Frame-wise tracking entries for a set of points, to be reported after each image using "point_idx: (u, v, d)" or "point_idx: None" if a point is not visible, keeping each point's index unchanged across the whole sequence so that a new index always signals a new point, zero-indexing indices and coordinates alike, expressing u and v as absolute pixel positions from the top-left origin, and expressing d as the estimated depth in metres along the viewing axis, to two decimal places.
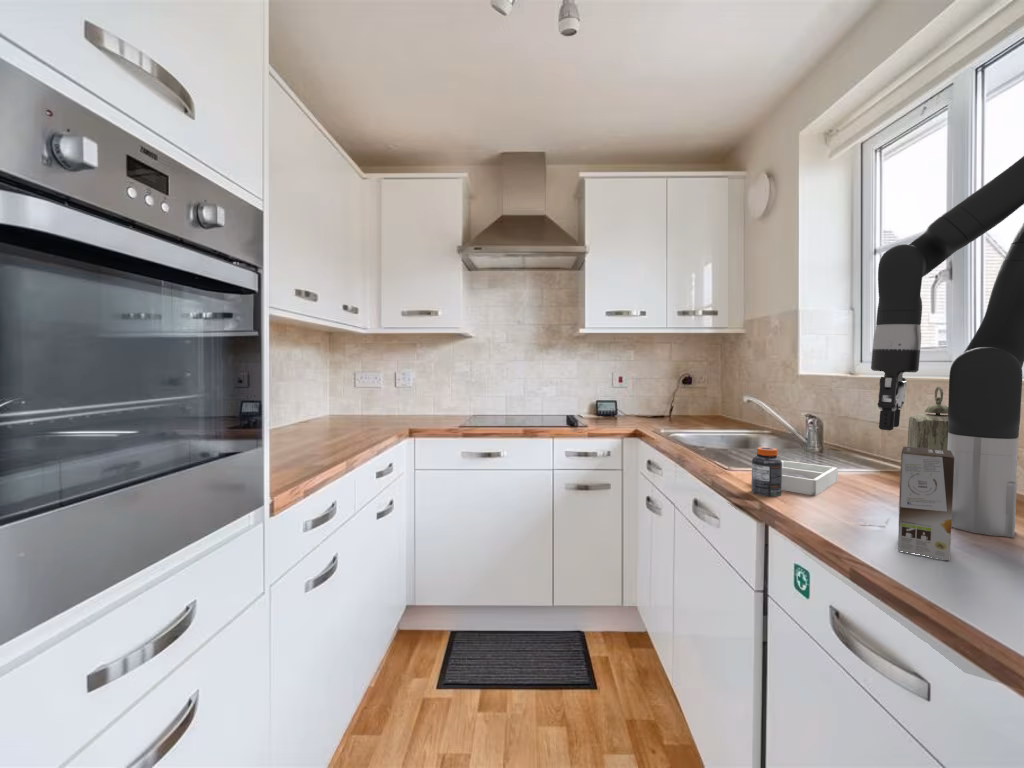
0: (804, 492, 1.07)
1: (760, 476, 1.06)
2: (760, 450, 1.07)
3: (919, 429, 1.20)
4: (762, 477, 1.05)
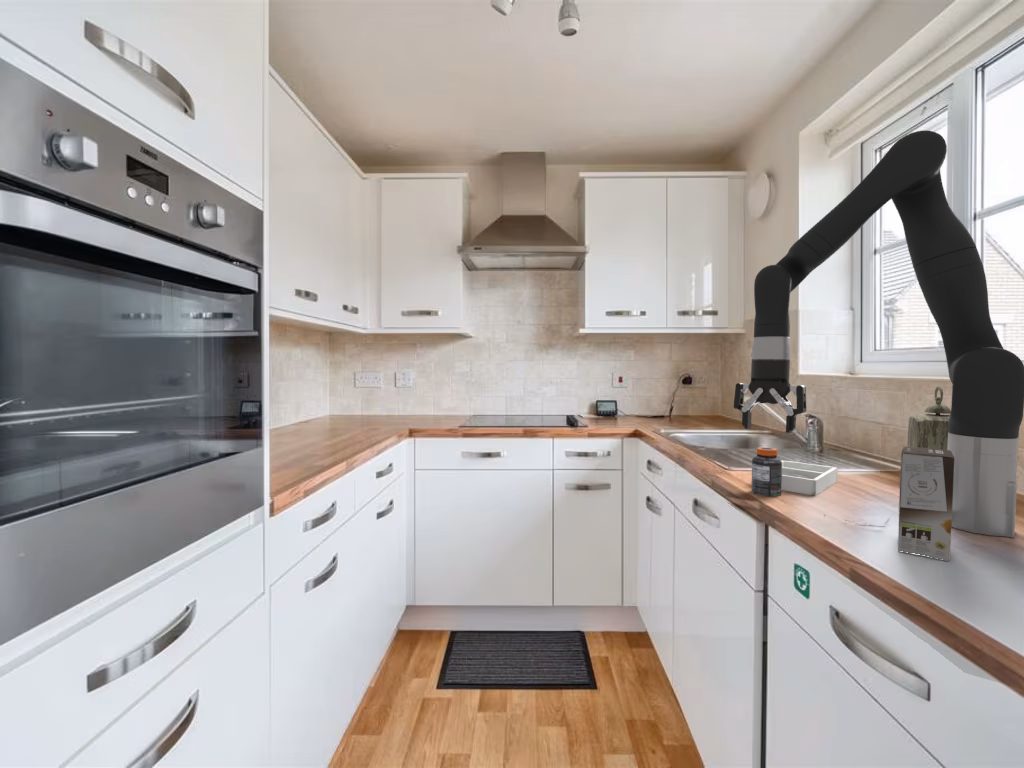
0: (804, 492, 1.07)
1: (760, 476, 1.06)
2: (760, 450, 1.07)
3: (919, 429, 1.20)
4: (762, 477, 1.05)
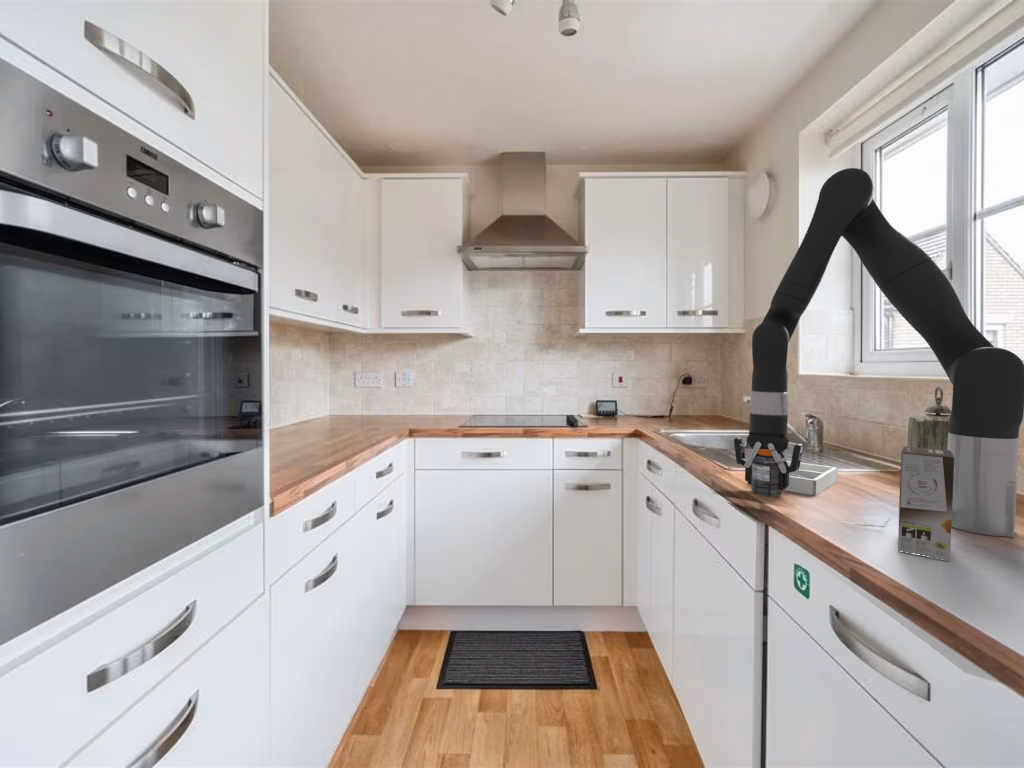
0: (804, 492, 1.07)
1: (760, 476, 1.06)
2: (760, 450, 1.07)
3: (919, 429, 1.20)
4: (762, 477, 1.05)
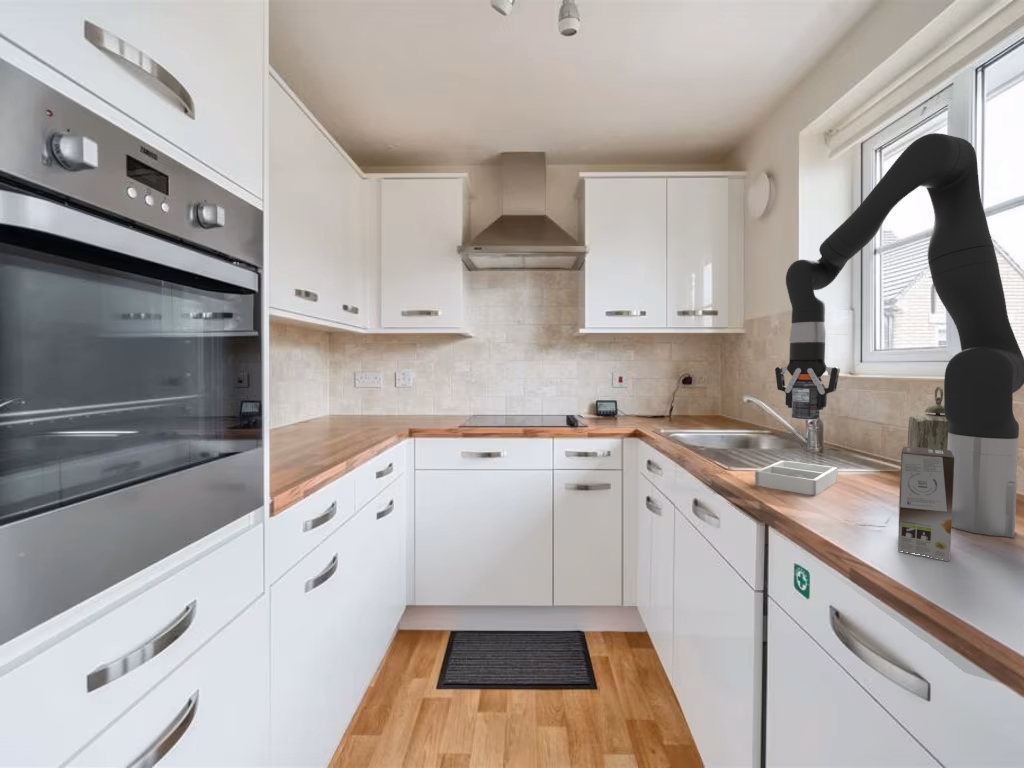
0: (804, 492, 1.07)
1: (800, 398, 1.18)
2: (800, 375, 1.19)
3: (919, 429, 1.20)
4: (802, 399, 1.18)
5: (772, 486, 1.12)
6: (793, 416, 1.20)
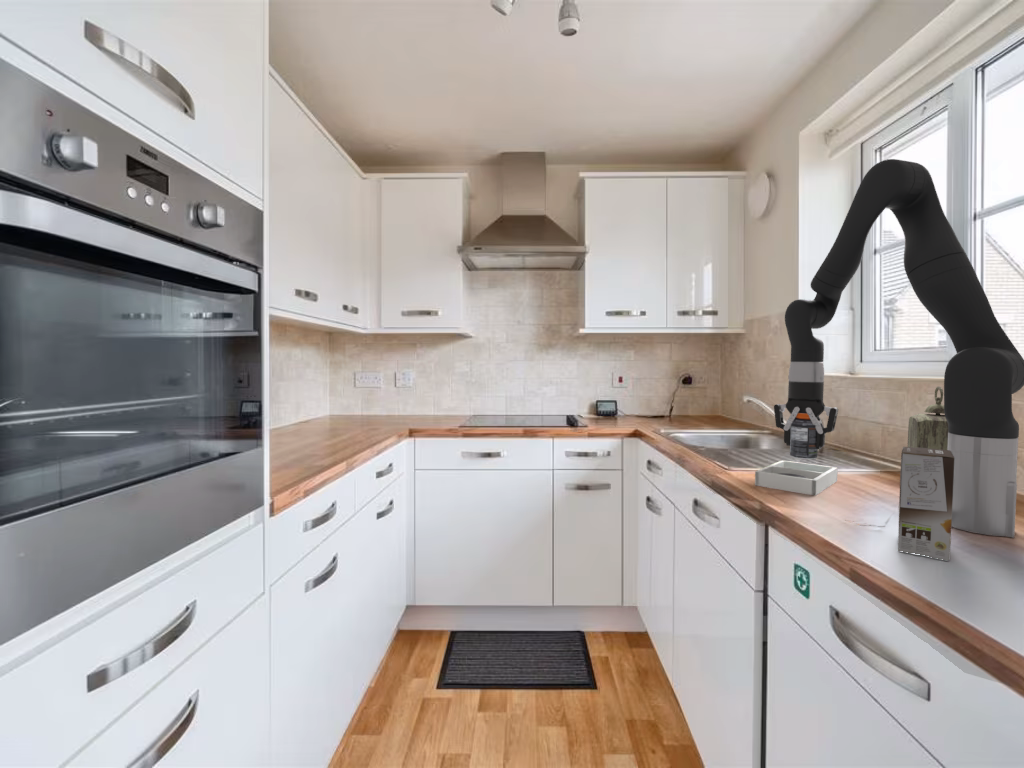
0: (804, 492, 1.07)
1: (799, 437, 1.19)
2: (799, 414, 1.20)
3: (919, 429, 1.20)
4: (801, 438, 1.18)
5: (772, 486, 1.12)
6: (791, 454, 1.21)
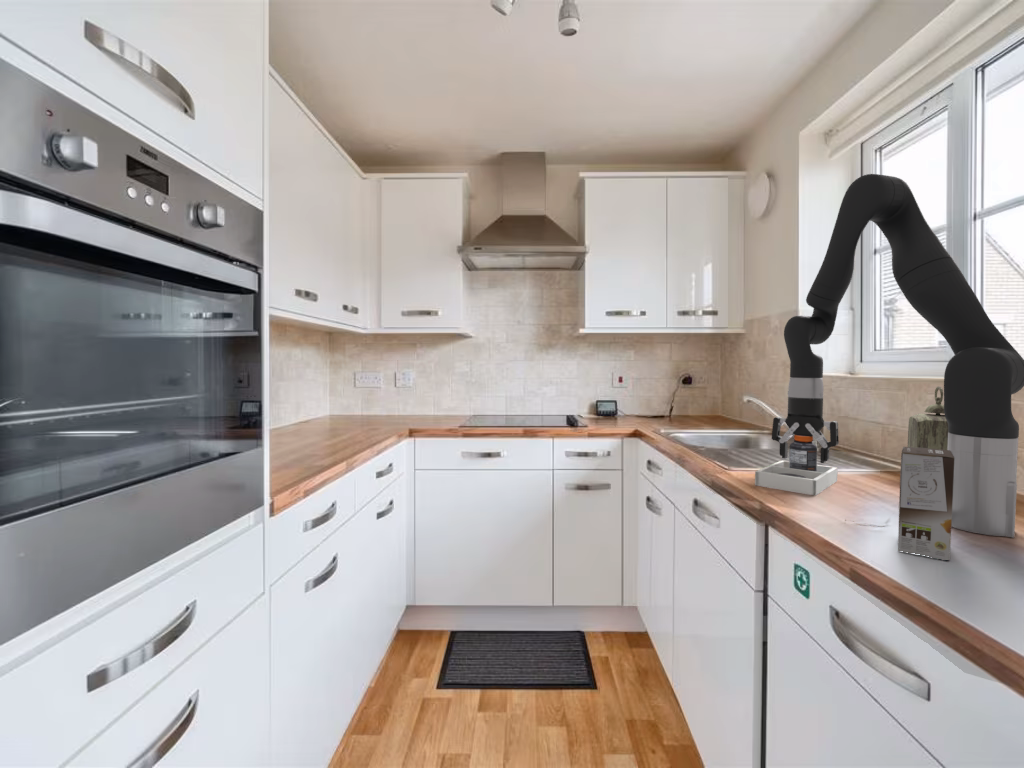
0: (804, 492, 1.07)
1: (798, 459, 1.19)
2: (797, 436, 1.20)
3: (919, 429, 1.20)
4: (800, 461, 1.19)
5: (772, 486, 1.12)
6: None
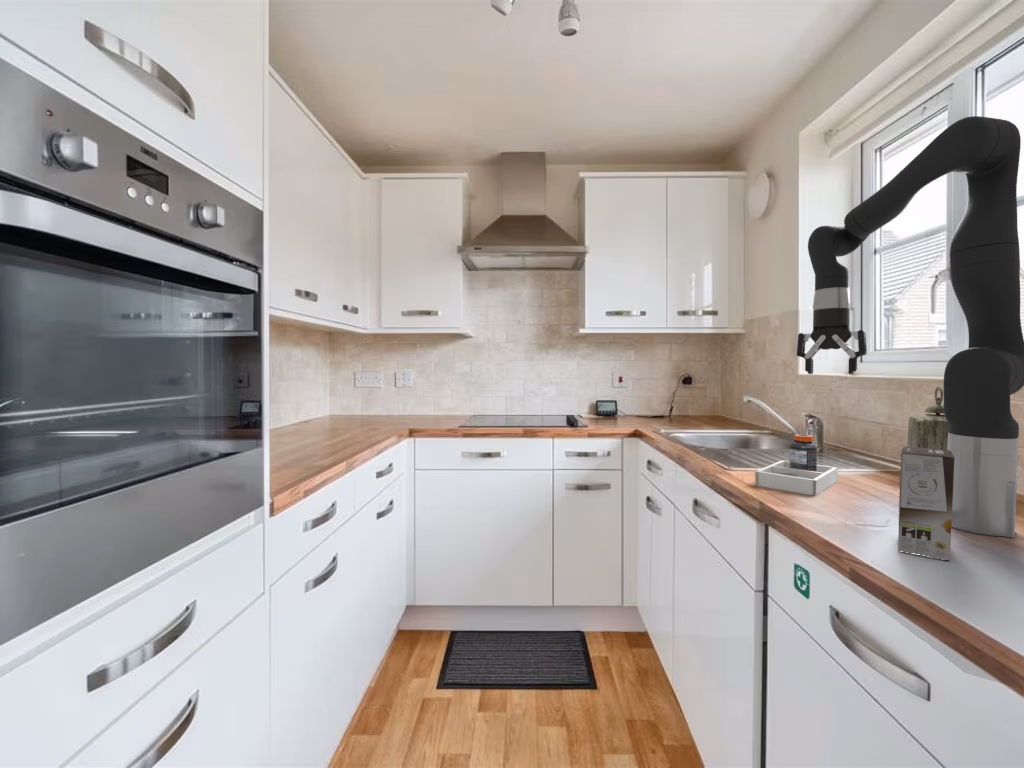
0: (804, 492, 1.07)
1: (798, 459, 1.19)
2: (797, 436, 1.20)
3: (919, 429, 1.20)
4: (800, 461, 1.19)
5: (772, 486, 1.12)
6: None
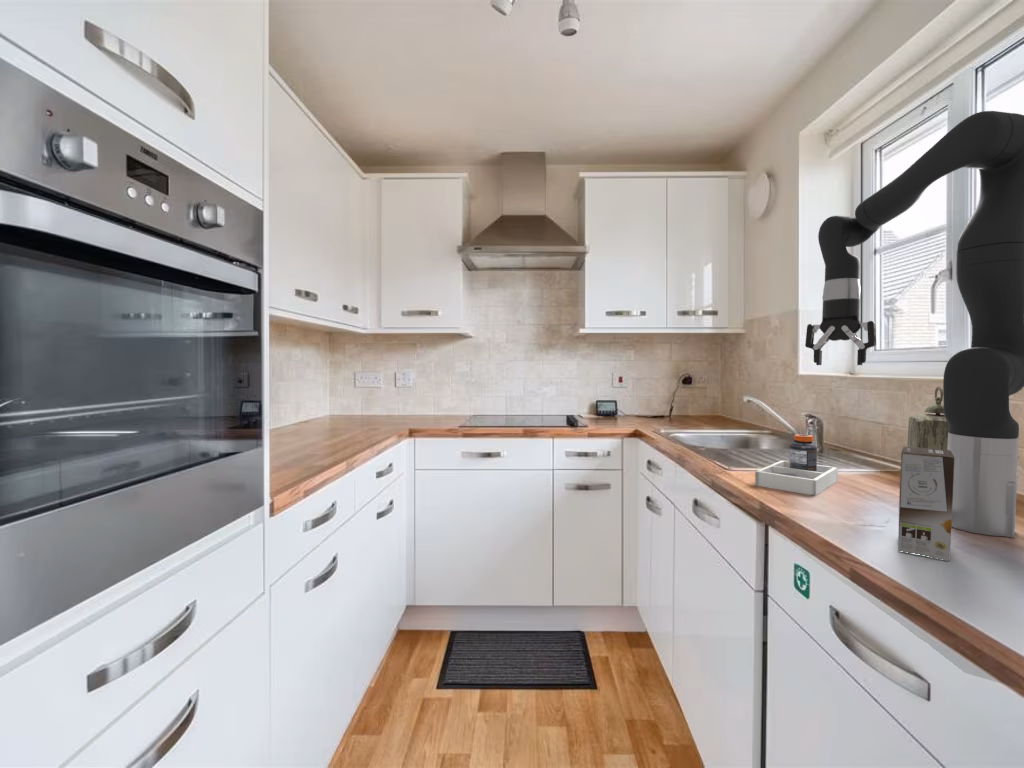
0: (804, 492, 1.07)
1: (798, 459, 1.19)
2: (797, 436, 1.20)
3: (919, 429, 1.20)
4: (800, 461, 1.19)
5: (772, 486, 1.12)
6: None
